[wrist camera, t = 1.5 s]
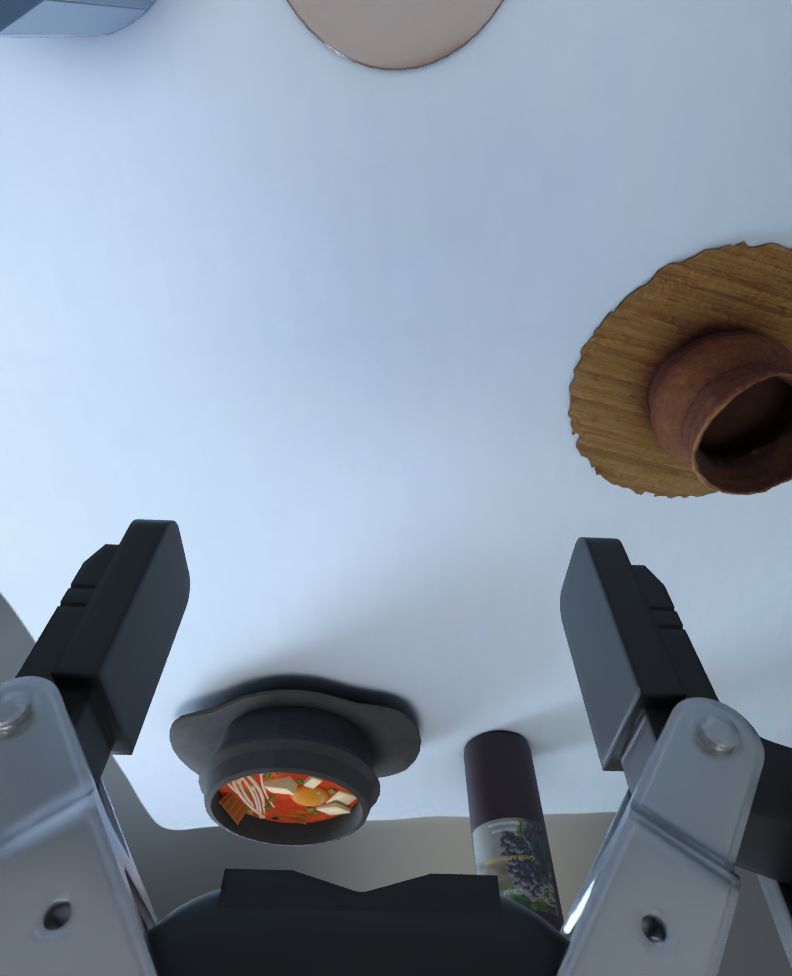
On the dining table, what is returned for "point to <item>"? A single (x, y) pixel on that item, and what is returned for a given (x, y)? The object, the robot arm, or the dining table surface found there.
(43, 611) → the dining table surface
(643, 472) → the ceramic pot
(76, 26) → the blue faceted canister
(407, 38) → the paper towel holder
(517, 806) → the wine bottle
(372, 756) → the casserole
